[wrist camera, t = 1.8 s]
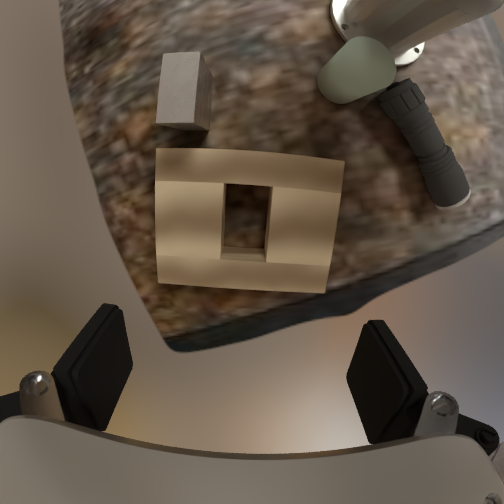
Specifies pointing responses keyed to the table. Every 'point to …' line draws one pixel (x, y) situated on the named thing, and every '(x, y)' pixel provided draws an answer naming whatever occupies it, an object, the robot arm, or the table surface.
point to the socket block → (277, 226)
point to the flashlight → (426, 144)
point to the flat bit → (185, 92)
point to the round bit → (356, 71)
